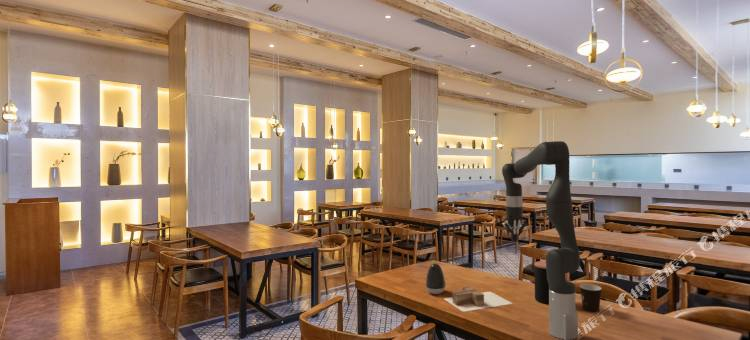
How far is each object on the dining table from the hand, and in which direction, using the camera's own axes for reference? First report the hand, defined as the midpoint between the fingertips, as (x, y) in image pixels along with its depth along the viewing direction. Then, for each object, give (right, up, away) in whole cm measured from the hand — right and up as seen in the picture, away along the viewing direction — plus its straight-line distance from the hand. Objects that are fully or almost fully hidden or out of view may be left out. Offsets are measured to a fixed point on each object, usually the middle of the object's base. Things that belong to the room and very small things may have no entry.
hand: (514, 241), depth 185 cm
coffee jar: (+16, -29, 0) cm, 33 cm away
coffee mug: (+31, -29, -9) cm, 43 cm away
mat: (-17, -29, +2) cm, 34 cm away
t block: (-23, -29, 0) cm, 37 cm away
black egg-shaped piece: (-35, -30, +16) cm, 49 cm away
